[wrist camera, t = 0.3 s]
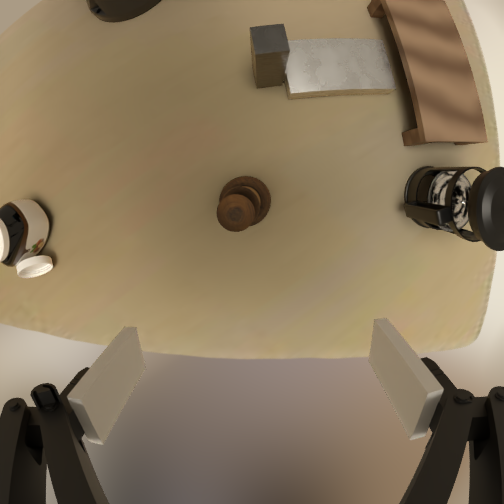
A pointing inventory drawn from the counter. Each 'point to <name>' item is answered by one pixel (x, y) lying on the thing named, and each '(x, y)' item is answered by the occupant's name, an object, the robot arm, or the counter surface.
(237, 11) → the counter surface
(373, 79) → the scraper
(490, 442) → the robot arm
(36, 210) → the spread jar
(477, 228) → the french press
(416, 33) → the low bench
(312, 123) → the counter surface
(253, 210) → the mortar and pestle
